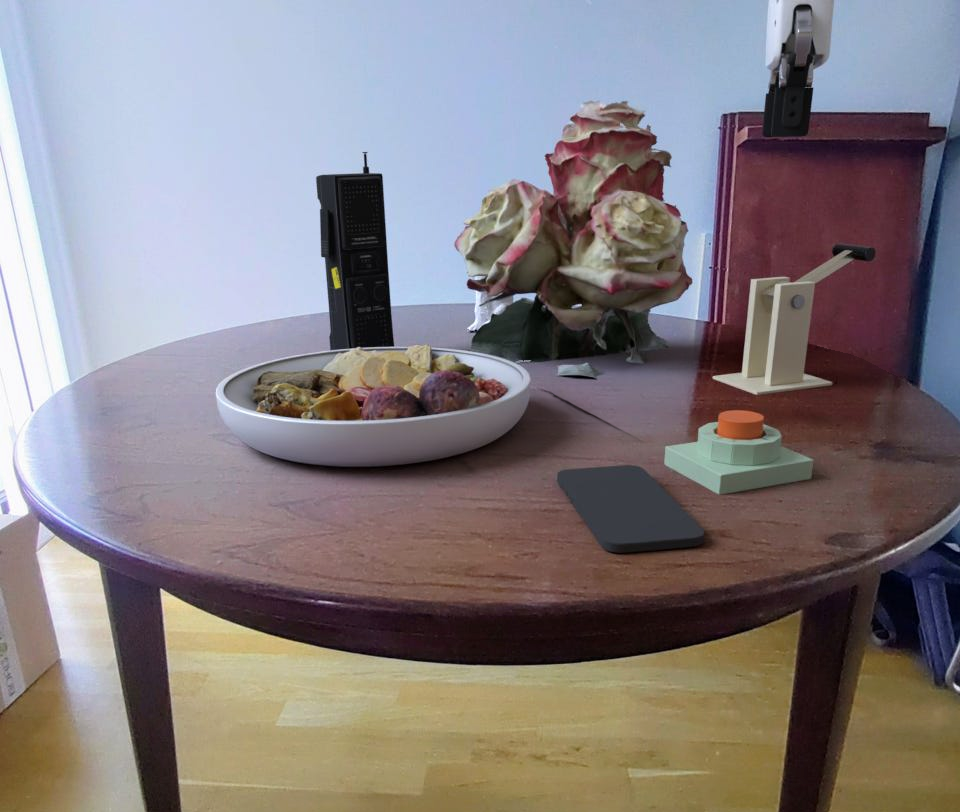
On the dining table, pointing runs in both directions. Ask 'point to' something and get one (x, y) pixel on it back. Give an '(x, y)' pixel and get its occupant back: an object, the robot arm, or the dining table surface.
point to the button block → (737, 461)
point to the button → (740, 425)
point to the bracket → (776, 340)
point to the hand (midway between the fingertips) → (783, 136)
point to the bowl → (374, 404)
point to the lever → (827, 267)
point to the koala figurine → (487, 307)
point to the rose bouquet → (580, 247)
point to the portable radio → (355, 259)
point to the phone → (628, 509)
